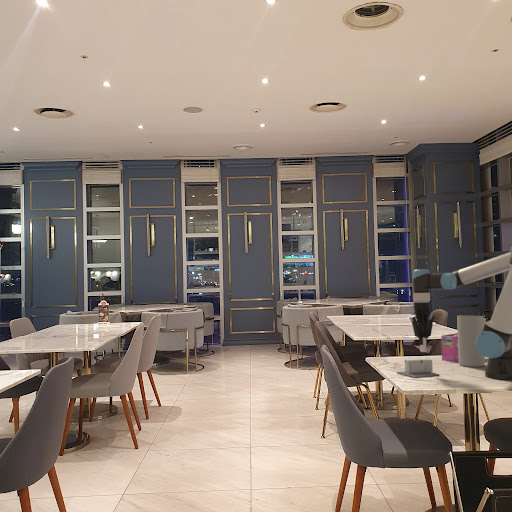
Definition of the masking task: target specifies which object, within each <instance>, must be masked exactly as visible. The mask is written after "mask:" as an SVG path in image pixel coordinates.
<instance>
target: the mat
mask: <svg viewBox="0 0 512 512" xmlns="http://www.w3.org/2000/svg"><path fill="white" fill-rule="evenodd" d="M396 374H398V375H402V376H406V377H409V378H413V379H418V378H428V377H430V378H431V377H439V376H440V374H439V373H435V372H423V373H407V372H405V370H404V371H397V372H396Z"/></svg>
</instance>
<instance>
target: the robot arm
mask: <svg viewBox="0 0 512 512" xmlns="http://www.w3.org/2000/svg"><path fill="white" fill-rule="evenodd" d="M507 271H508V274H507V276H506V279H505V282H504V284H503V286H502V289H501V292H500V295H499V297H498V300H497V302H496V304H495V308H494V311H493V313H492V315H491V318H490V320H487V321H485V323H484V327H483V330H482V332H481V333H480V334H479V335H478V336H477V338H476V348H477V350H478V351H479V353H480V354H482V355H483V356H485V358H487V359H488V360H487V362H486V363H487V364H486V367H485V370H484V376H485V377H487V378H490V379H494V380H506V381H507V380H509V381H510V380H512V246H511V248H510V251H509V252H506V253H504V254H501V255H497V256H496V257H492V258H490V259H486V260H484V261H481V262H478V263H475V264H473V265H472V264H471V265H470V266H467V267H464V268H461V269H458V270H455V271H452V272H441V273H440V272H438V273H437V272H436V273H432V272H431V271H430V270H429V269H428V268H427V269H423V268H422V269H414V270H413V271H412V289H413V291H412V293H413V302H414V303H413V310H414V312H413V315H412V316H410V317H409V320H410V322H411V325H412V329H413V334H414V336H415V337H416V338H418V345H419V351H420V352H421V353H427V345H428V339H429V337H431V336H432V330H433V324H434V320H435V316H434V315H432V314H431V302H430V301H431V290H446V291H447V290H456V289H458V288H460V287H462V286H466V285H468V284H471V283H475V282H477V281H480V280H483V279H487V278H489V277H492V276H497V275H499V274H502V273H505V272H507ZM430 272H431V273H430Z"/></svg>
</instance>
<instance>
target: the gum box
mask: <svg viewBox="0 0 512 512" xmlns="http://www.w3.org/2000/svg"><path fill="white" fill-rule="evenodd" d="M440 338H441V361H445V360H446V361H445V362H453V361H454V363H455V362H459V358H458V332H456V333H451V334H444V335H443V334H442V335H441V337H440Z"/></svg>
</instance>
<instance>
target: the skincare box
mask: <svg viewBox="0 0 512 512" xmlns="http://www.w3.org/2000/svg"><path fill="white" fill-rule="evenodd" d="M433 367H434V366H433V359H430V358H414V359H412V358H410V359H409V358H406V359H404V371H405V372H407V373H423V372H432V373H434V371H433Z"/></svg>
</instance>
